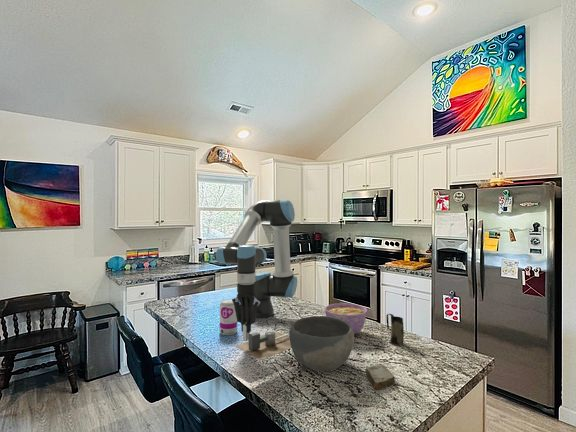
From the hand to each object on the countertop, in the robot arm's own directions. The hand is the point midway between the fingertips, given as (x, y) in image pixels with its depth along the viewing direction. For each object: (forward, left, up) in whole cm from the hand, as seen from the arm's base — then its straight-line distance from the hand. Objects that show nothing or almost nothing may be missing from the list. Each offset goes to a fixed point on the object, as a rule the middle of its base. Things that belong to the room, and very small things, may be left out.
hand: (246, 339), depth 137 cm
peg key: (-10, +4, -3) cm, 11 cm away
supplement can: (-7, -23, -5) cm, 24 cm away
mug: (-53, +38, -5) cm, 65 cm away
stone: (-19, +51, -5) cm, 54 cm away
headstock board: (-10, +4, -5) cm, 11 cm away
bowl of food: (-47, +16, -5) cm, 50 cm away
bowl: (-13, +30, -5) cm, 33 cm away
